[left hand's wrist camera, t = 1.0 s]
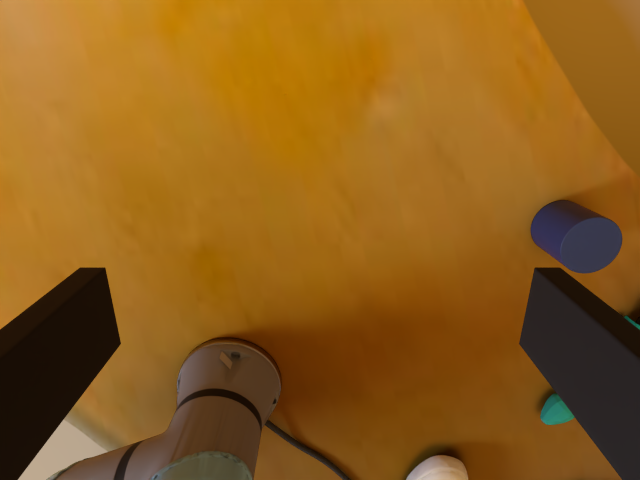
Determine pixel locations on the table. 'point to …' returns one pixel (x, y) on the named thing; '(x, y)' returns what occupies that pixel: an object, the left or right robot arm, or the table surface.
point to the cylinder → (576, 236)
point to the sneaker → (439, 469)
